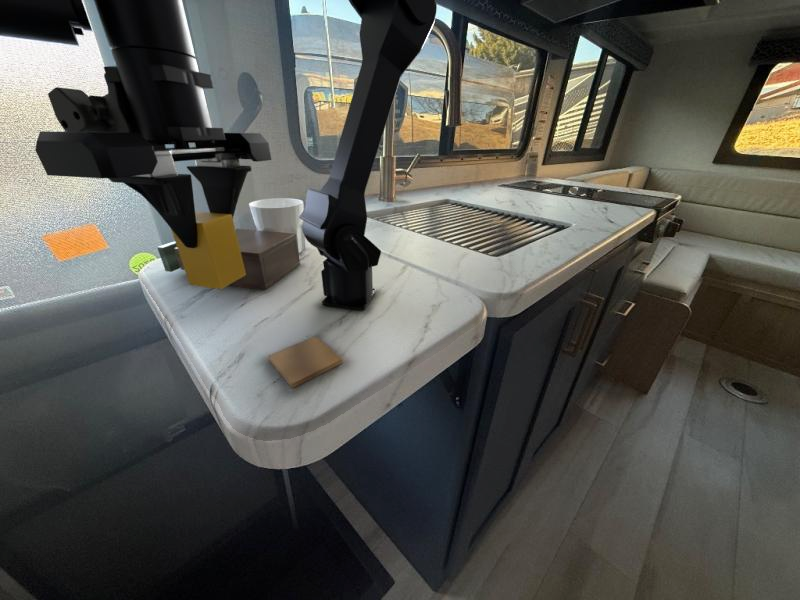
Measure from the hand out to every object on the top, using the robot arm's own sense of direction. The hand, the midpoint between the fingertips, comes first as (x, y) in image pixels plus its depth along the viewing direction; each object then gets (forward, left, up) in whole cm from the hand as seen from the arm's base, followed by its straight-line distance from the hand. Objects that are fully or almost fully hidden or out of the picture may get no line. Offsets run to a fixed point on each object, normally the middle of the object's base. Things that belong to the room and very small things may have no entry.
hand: (208, 241), depth 33 cm
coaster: (-11, +3, -12) cm, 16 cm away
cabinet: (+10, -17, -12) cm, 23 cm away
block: (0, 0, -5) cm, 5 cm away
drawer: (+18, -17, -11) cm, 27 cm away
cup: (+11, -30, -12) cm, 34 cm away
